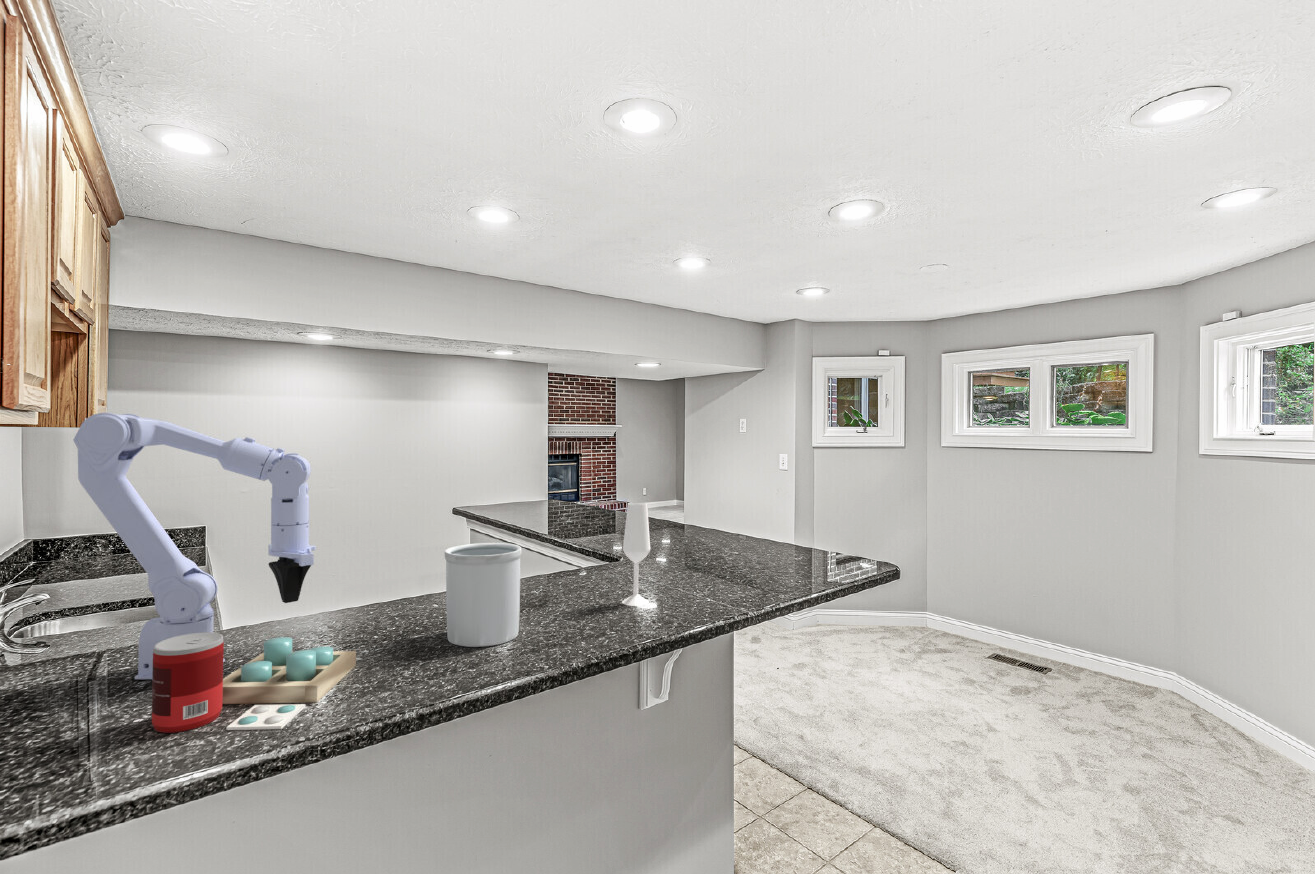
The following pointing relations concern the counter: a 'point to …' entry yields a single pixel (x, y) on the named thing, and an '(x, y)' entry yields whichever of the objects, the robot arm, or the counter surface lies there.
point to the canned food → (187, 681)
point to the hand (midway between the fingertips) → (290, 601)
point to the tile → (266, 717)
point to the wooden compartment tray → (288, 683)
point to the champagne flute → (636, 545)
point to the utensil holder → (482, 593)
